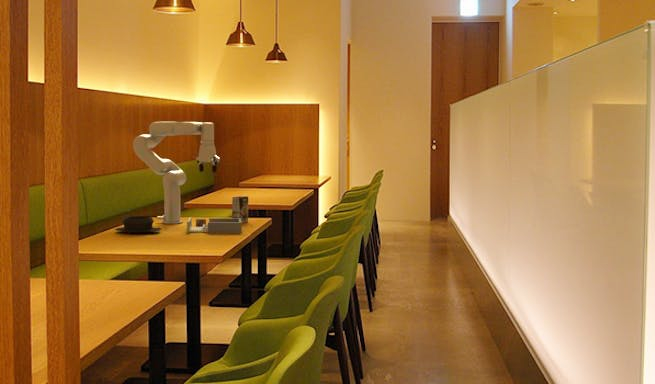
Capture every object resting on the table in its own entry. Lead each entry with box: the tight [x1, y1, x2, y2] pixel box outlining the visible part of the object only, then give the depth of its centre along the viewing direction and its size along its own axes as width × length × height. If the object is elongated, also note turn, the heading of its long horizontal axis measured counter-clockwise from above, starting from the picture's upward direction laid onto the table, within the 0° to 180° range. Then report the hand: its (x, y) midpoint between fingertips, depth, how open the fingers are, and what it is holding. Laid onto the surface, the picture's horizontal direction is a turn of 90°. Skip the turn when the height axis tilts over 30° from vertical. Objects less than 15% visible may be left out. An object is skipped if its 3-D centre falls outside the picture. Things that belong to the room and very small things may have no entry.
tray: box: [186, 216, 208, 234], centre depth 415 cm, size 19×20×6 cm
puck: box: [195, 218, 207, 227], centre depth 433 cm, size 6×6×4 cm
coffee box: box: [231, 195, 249, 224], centre depth 453 cm, size 9×6×16 cm
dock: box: [207, 217, 243, 234], centre depth 417 cm, size 18×20×6 cm
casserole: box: [114, 215, 162, 235], centre depth 405 cm, size 25×19×8 cm
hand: (207, 171), depth 440 cm, fingers open, 9 cm apart
